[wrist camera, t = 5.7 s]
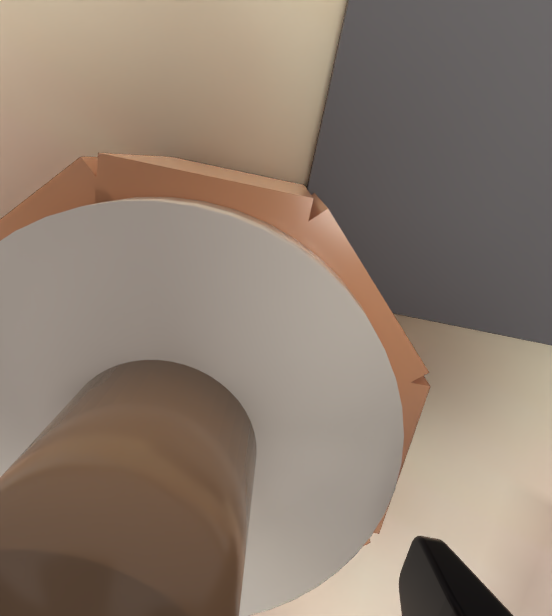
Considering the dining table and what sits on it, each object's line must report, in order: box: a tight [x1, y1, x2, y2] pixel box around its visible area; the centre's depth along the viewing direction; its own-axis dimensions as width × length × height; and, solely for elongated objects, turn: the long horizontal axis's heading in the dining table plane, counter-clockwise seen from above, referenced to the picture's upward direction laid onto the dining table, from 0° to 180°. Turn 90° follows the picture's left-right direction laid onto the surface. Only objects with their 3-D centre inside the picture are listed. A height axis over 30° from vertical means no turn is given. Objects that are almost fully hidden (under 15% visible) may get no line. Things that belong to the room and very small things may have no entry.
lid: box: [0, 197, 404, 616], centre depth 7 cm, size 9×9×5 cm
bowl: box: [0, 153, 430, 547], centre depth 12 cm, size 10×10×5 cm
